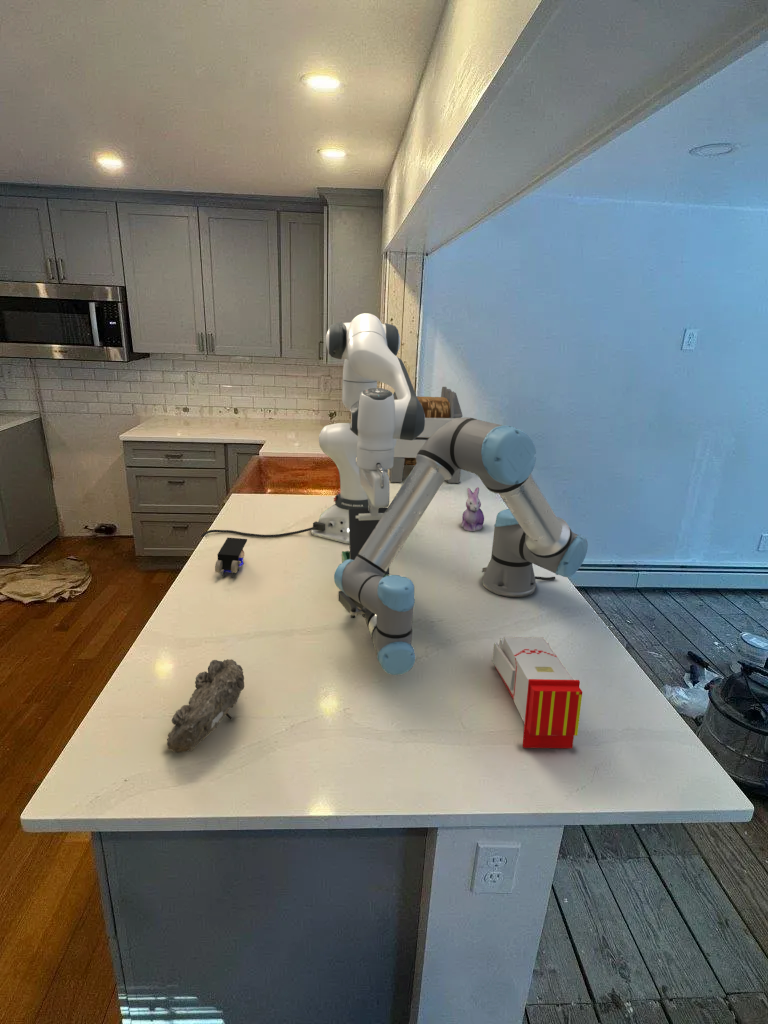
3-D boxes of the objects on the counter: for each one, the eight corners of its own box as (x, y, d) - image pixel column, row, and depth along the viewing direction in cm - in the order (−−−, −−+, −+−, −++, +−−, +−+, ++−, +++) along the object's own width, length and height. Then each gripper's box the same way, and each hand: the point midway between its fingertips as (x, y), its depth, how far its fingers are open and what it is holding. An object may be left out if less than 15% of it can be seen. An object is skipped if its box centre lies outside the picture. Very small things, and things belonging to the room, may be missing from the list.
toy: (540, 620, 128) (592, 687, 99) (535, 674, 131) (584, 755, 102) (487, 619, 128) (523, 686, 99) (483, 673, 131) (517, 754, 101)
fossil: (192, 660, 117) (244, 628, 112) (224, 691, 120) (276, 661, 115) (142, 746, 98) (202, 712, 93) (182, 779, 101) (242, 748, 96)
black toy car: (238, 584, 162) (249, 557, 175) (236, 562, 158) (247, 536, 172) (215, 584, 161) (227, 556, 175) (212, 561, 158) (225, 535, 171)
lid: (348, 508, 145) (353, 508, 138) (386, 507, 147) (393, 507, 140) (350, 575, 145) (355, 579, 138) (388, 574, 147) (395, 577, 140)
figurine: (470, 533, 202) (474, 493, 197) (453, 524, 211) (457, 485, 206) (491, 530, 207) (495, 491, 202) (474, 520, 215) (478, 483, 210)
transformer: (382, 463, 289) (386, 382, 275) (445, 464, 293) (451, 384, 279) (390, 482, 257) (394, 392, 243) (460, 483, 261) (468, 394, 247)
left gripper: (397, 469, 126) (394, 528, 130) (380, 449, 145) (378, 501, 149) (369, 469, 124) (367, 529, 129) (355, 449, 143) (354, 501, 148)
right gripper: (334, 641, 128) (324, 595, 149) (430, 634, 133) (408, 590, 153) (335, 612, 126) (324, 569, 146) (433, 606, 131) (409, 565, 151)
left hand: (373, 513), depth 139 cm, fingers closed, pressing on lid
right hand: (367, 580), depth 150 cm, fingers closed on chest, 10 cm apart
